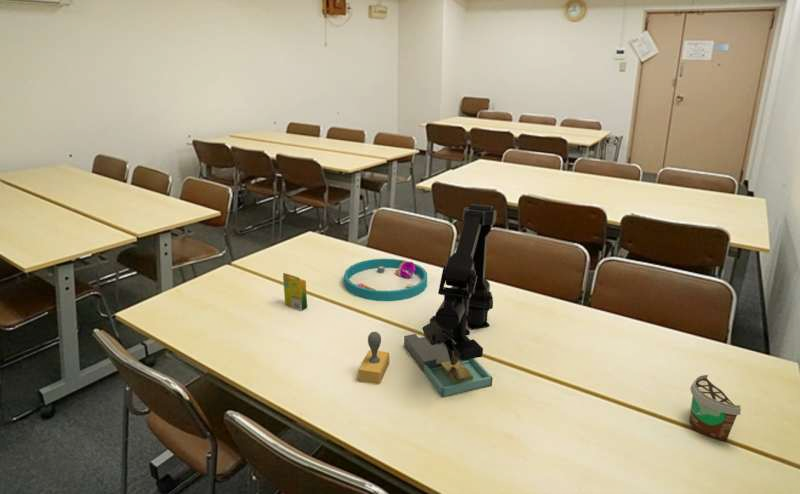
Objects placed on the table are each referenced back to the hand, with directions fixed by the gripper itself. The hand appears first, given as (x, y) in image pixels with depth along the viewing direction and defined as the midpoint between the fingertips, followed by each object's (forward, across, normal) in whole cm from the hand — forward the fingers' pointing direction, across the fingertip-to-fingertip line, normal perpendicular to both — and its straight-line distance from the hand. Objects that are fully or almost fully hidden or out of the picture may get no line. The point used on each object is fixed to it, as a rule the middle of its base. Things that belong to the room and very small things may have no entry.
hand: (453, 364), depth 137 cm
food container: (+3, +38, +44) cm, 58 cm away
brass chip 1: (+2, 0, 0) cm, 3 cm away
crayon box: (+3, -52, -31) cm, 61 cm away
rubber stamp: (+3, -8, -19) cm, 21 cm away
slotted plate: (+3, -10, 0) cm, 10 cm away
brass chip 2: (+2, +4, 0) cm, 4 cm away
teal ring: (+4, -60, +3) cm, 60 cm away
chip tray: (+3, +2, 0) cm, 4 cm away
